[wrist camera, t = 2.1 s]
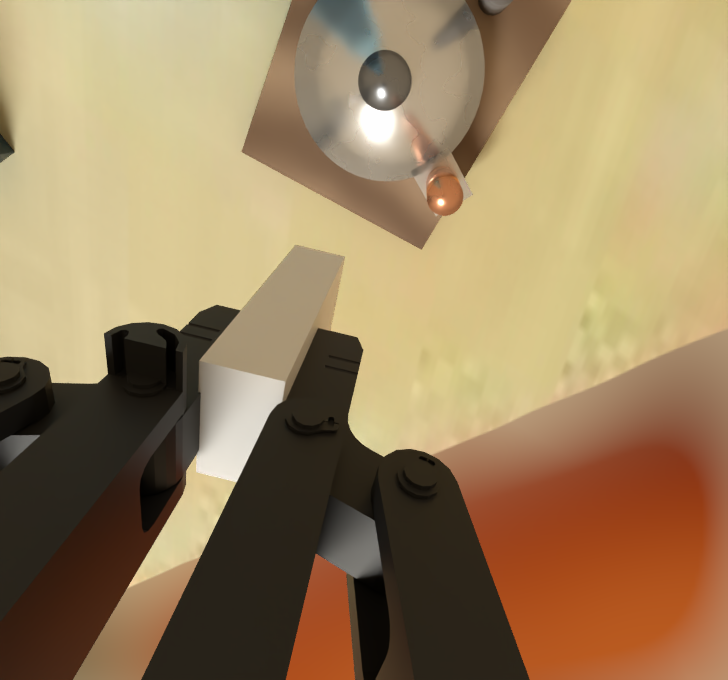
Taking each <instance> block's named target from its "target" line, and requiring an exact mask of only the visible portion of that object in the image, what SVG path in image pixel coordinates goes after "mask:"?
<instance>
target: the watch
mask: <svg viewBox="0 0 728 680" xmlns="http://www.w3.org/2000/svg"><path fill="white" fill-rule="evenodd" d="M13 153H14V151H13V150H12V148H11V147H10V146H9V144H8V143H7V142H6V141H5V139H4V138H3V137H2V135H1V134H0V163H1V162H2V161H3V160H5V159H6V158H7V157H9V156H10V155H11V154H13Z"/></svg>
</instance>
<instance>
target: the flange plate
mask: <svg viewBox="0 0 728 680" xmlns="http://www.w3.org/2000/svg"><path fill="white" fill-rule="evenodd" d="M484 76H485V60H484V50H483V44H482V40H481V35H480V31H479V28H478V26H477V23H476V20H475V18H474V16H473V14H472V12H471V10H470V8H469V6H468V4H467V3H466V1H465V0H318V1H317V2H316V4H315V5H314V7H313V8H312V10H311V12H310V14H309V15H308V17H307V19H306V22H305V24H304V26H303V29H302V31H301V35H300V38H299V42H298V45H297V51H296V57H295V69H294V79H295V91H296V97H297V102H298V106H299V109H300V113H301V116H302V118H303V121H304V123H305V126H306V128H307V130H308V131H309V133H310V135H311V137H312V138H313V140H314V141H315V143H316V144H317V145H318V147H319V148H320V149H321V150H322V151H323V152H324V154H325V155H326V156H327V157H328V158H329V159H331V160H332V161H333V162H334V163H335V164H337V165H338V166H340V167H341V168H343V169H344V170H346V171H348V172H350V173H352V174H354V175H356V176H359V177H362V178H366V179H370V180H376V181H398V180H404V179H408V178H412V177H414V178H415V180H416V182H417V184H418V185H419V187H420V189H421V191H422V193H423V194H424V196H425V198H426V200H427V203H428V206H429V208H430V209H431V210H432V211H433V212H434V214H435V216H438V215H442V216H446V215H450V214H453V213H454V212H456V211H457V210H458V209H459V208H460V206H461V204H462V202H463V200H465V199H466V198H468V197H470V196H471V195H473V194H472V192H471V190H470V188H469V186H468V184H467V182H466V180H465V178H464V176H463V174H462V172H461V170H460V169H459V167H458V165H457V163H456V161H455V159H454V157H453V155H452V153H451V152H453V150H454V149H455V148H456V147H457V146H458V144H459V143H460V142H461V141H462V139H463V138H464V136H465V134H466V133H467V131H468V130H469V128H470V126H471V124H472V122H473V120H474V118H475V115H476V112H477V110H478V107H479V104H480V100H481V96H482V91H483V84H484Z"/></svg>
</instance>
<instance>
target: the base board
mask: <svg viewBox="0 0 728 680" xmlns="http://www.w3.org/2000/svg"><path fill="white" fill-rule="evenodd" d="M317 1H318V0H292V2H291V5H290V8H289V11H288V14H287V17H286V20H285V23H284V26H283V29H282V32H281V35H280V38H279V41H278V44H277V47H276V50H275V53H274V56H273V59H272V62H271V65H270V68H269V71H268V74H267V77H266V80H265V83H264V86H263V89H262V92H261V95H260V98H259V101H258V104H257V107H256V110H255V113H254V116H253V119H252V122H251V125H250V128H249V131H248V134H247V137H246V140H245V143H244V146H243V149H242V152H243V153H245V154H246V155H248V156H250V157H252V158H254V159H256V160H257V161H259V162H261V163H263V164H265V165H267V166H269V167H270V168H272V169H274V170H276V171H278V172H280V173H281V174H283V175H285V176H287V177H289V178H291V179H292V180H294V181H296V182H298V183H300V184H302V185H304V186H305V187H307V188H309V189H311V190H313V191H315V192H316V193H318V194H320V195H322V196H324V197H326V198H327V199H329V200H331V201H333V202H335V203H337V204H339V205H340V206H342V207H344V208H346V209H348V210H350V211H351V212H353V213H355V214H357V215H359V216H361V217H362V218H364V219H366V220H368V221H370V222H372V223H374V224H375V225H377V226H379V227H381V228H383V229H385V230H386V231H388V232H390V233H392V234H394V235H396V236H397V237H399V238H401V239H403V240H405V241H407V242H409V243H410V244H412V245H414V246H416V247H418V248H420V249H421V250H422V248H423V246H424V245H425V243H426V241H427V240H428V238H429V236H430V235H431V233H432V231H433V230H434V228H435V226H436V225H437V223H438V221H439V220H440V218H441V216H442V215H438V216H435V214H434V212H433V211H432V210H431V209H430V208H429V206H428V203H427V200H426V198H425V196H424V194H423V193H422V191H421V189H420V187H419V185H418V184H417V182H416V180H415V178H414V177H412V178H408V179H404V180H398V181H376V180H370V179H366V178H362V177H359V176H356V175H354V174H352V173H350V172H348V171H346V170H344V169H343V168H341V167H340V166H338V165H337V164H335V163H334V162H333V161H332V160H331V159H329V158H328V157H327V156H326V155H325V154H324V152H323V151H322V150H321V149H320V148H319V147H318V145H317V144H316V143H315V141H314V140H313V138H312V137H311V135H310V133H309V131H308V130H307V128H306V126H305V123H304V121H303V118H302V116H301V113H300V109H299V106H298V102H297V97H296V91H295V79H294V69H295V57H296V51H297V45H298V42H299V38H300V35H301V31H302V29H303V26H304V24H305V22H306V19H307V17H308V15H309V14H310V12H311V10H312V8H313V7H314V5H315V4H316V2H317ZM465 1H466V3H467V4H468V6H469V8H470V10H471V12H472V14H473V16H474V18H475V20H476V23H477V26H478V28H479V31H480V35H481V40H482V44H483V50H484V60H485V76H484V84H483V91H482V96H481V100H480V104H479V107H478V110H477V112H476V115H475V118H474V120H473V122H472V124H471V126H470V128H469V130H468V131H467V133H466V134H465V136H464V138H463V139H462V141H461V142H460V143H459V144H458V146H457V147H456V148H455V149H454V150H453V152H451V153H452V155H453V157H454V159H455V161H456V163H457V165H458V167H459V169H460V170H461V172H462V174H463V176H464V178H465V176H466V175H467V173H468V172H469V170H470V168H471V167H472V165H473V163H474V162H475V160H476V158H477V157H478V155H479V153H480V152H481V150H482V148H483V147H484V145H485V143H486V142H487V140H488V138H489V137H490V135H491V133H492V132H493V130H494V128H495V127H496V125H497V123H498V122H499V120H500V118H501V117H502V115H503V113H504V112H505V110H506V108H507V107H508V105H509V103H510V102H511V100H512V98H513V97H514V95H515V93H516V92H517V90H518V88H519V87H520V85H521V83H522V82H523V80H524V78H525V77H526V75H527V73H528V72H529V70H530V68H531V67H532V65H533V64H534V62H535V60H536V59H537V57H538V55H539V54H540V52H541V50H542V49H543V47H544V45H545V44H546V42H547V40H548V39H549V37H550V35H551V34H552V32H553V30H554V29H555V27H556V25H557V24H558V22H559V20H560V19H561V17H562V15H563V14H564V12H565V10H566V9H567V7H568V5H569V4H570V2H571V0H465Z"/></svg>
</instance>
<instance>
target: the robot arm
mask: <svg viewBox="0 0 728 680" xmlns="http://www.w3.org/2000/svg"><path fill="white" fill-rule="evenodd" d="M344 259H345V257H344V256H340V255H336V254H331V253H327V252H323V251H319V250H315V249H311V248H307V247H303V246H299V245H295V246H294V247H293V249H292V250H291V251H290V252H289V253H288V255H287V256H286V257H285V258H284V259H283V261H282V262H281V263H280V264H279V265H278V267H277V268H276V269H275V270H274V271H273V273H272V274H271V275H270V276H269V277H268V279H267V280H266V281H265V282H264V283H263V285H262V286H261V287H260V288H259V289H258V291H257V292H256V293H255V294H254V295H253V297H252V298H251V299H250V300H249V301H248V303H247V304H246V305H245V306H244V307H243V309H242V310H241V311H240V310H236V309H232V308H228V307H224V306H219V305H216V306H213V307H211V308H208V309H206V310H203V311H201V312H199V313H198V314H197V315H196V316H195V317H194V318H193V319H192V320H191V321H190V322H189V324H188V325H186V326H185V327H184V328H183V329H182V330H181V331H180V332H179V331H178V330H177V329H175V328H172V327H169V326H167V325H164V324H157V323H149V322H146V323H131V324H126V325H122V326H118V327H115V328H113V329H111V330H110V331H108V332H106V333H104V339H105V348H106V358H107V368H108V375H107V376H105V377H104V378H103V379H102V380H101V381H100V382H99V383H98V384H72V383H52V382H51V377H50V372H49V368H48V367H47V366H45V365H44V364H43V363H41V362H40V361H37V360H33V359H29V358H26V357H3V358H0V680H73V678H74V677H75V675H76V673H77V672H78V670H79V668H80V667H81V665H82V663H83V661H84V660H85V658H86V656H87V655H88V653H89V651H90V650H91V648H92V646H93V644H94V643H95V641H96V640H97V638H98V636H99V635H100V633H101V631H102V630H103V628H104V626H105V624H106V623H107V621H108V619H109V618H110V616H111V614H112V613H113V611H114V609H115V608H116V606H117V604H118V602H119V601H120V599H121V597H122V596H123V594H124V592H125V591H126V589H127V587H128V586H129V584H130V582H131V581H132V579H133V577H134V576H135V574H136V572H137V571H138V569H139V567H140V565H141V564H142V562H143V560H144V559H145V557H146V555H147V554H148V552H149V550H150V549H151V547H152V545H153V544H154V542H155V540H156V538H157V537H158V535H159V533H160V532H161V530H162V528H163V527H164V525H165V523H166V522H167V520H168V518H169V517H170V515H171V513H172V511H173V510H174V508H175V506H176V505H177V503H178V501H179V500H180V498H181V496H182V495H183V492H184V489H185V485H186V470H187V468H188V467H189V465H190V464H191V462H192V460H193V459H194V457H195V456H196V454H197V465H196V472H197V473H201V474H206V475H210V476H214V477H218V478H222V479H226V480H230V481H234V482H237V483H236V485H235V487H234V489H233V491H232V493H231V495H230V497H229V499H228V501H227V503H226V505H225V507H224V509H223V512H222V514H221V516H220V518H219V520H218V522H217V524H216V526H215V528H214V530H213V532H212V534H211V536H210V538H209V541H208V543H207V545H206V547H205V549H204V551H203V553H202V555H201V557H200V559H199V562H198V563H197V565H196V568H195V570H194V572H193V574H192V576H191V578H190V580H189V582H188V584H187V586H186V588H185V590H184V592H183V594H182V597H181V599H180V601H179V603H178V605H177V607H176V609H175V611H174V613H173V615H172V617H171V619H170V621H169V624H168V626H167V628H166V630H165V632H164V634H163V636H162V638H161V640H160V642H159V644H158V646H157V648H156V650H155V652H154V655H153V657H152V659H151V661H150V663H149V665H148V667H147V669H146V671H145V673H144V675H143V677H142V679H141V680H286V676H287V671H288V667H289V663H290V659H291V655H292V650H293V646H294V642H295V638H296V634H297V629H298V625H299V621H300V617H301V613H302V608H303V604H304V600H305V596H306V592H307V587H308V583H309V579H310V575H311V570H312V566H313V562H314V558H315V554H318V555H319V556H321V557H323V558H324V559H326V560H327V561H329V562H330V563H332V564H334V565H335V566H337V567H338V568H340V569H342V570H343V571H345V572H346V573H347V587H348V600H349V612H350V623H351V635H352V648H353V660H354V672H355V680H529V677H528V674H527V671H526V668H525V666H524V663H523V660H522V658H521V655H520V652H519V650H518V647H517V644H516V641H515V639H514V636H513V633H512V630H511V627H510V625H509V622H508V619H507V617H506V614H505V611H504V609H503V606H502V603H501V600H500V597H499V595H498V592H497V589H496V586H495V584H494V581H493V578H492V576H491V573H490V570H489V568H488V565H487V562H486V559H485V557H484V554H483V551H482V548H481V546H480V543H479V540H478V537H477V535H476V532H475V529H474V526H473V524H472V521H471V518H470V515H469V513H468V510H467V507H466V505H465V502H464V499H463V497H462V494H461V491H460V488H459V485H458V483H457V481H456V479H455V477H454V476H453V474H452V472H451V471H450V469H449V468H448V467H447V466H445V465H444V464H443V463H442V462H441V461H440V460H439V459H437V458H435V457H433V456H431V455H429V454H427V453H425V452H422V451H417V450H412V449H404V450H396V451H394V452H392V453H390V454H388V455H386V456H385V457H383V456H381V455H379V454H377V453H375V452H374V451H372V450H370V449H369V448H367V447H365V446H364V445H362V444H361V443H360V442H359V441H358V440H357V439H356V438H355V436H354V435H353V433H352V432H351V430H350V428H349V424H348V413H349V409H350V405H351V400H352V396H353V392H354V387H355V383H356V379H357V375H358V370H359V366H360V362H361V357H362V353H363V349H362V346H361V344H360V342H359V340H358V338H357V337H353V336H349V335H345V334H341V333H337V332H333V331H330V330H331V325H332V320H333V315H334V310H335V305H336V299H337V294H338V289H339V284H340V279H341V274H342V269H343V264H344Z"/></svg>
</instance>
